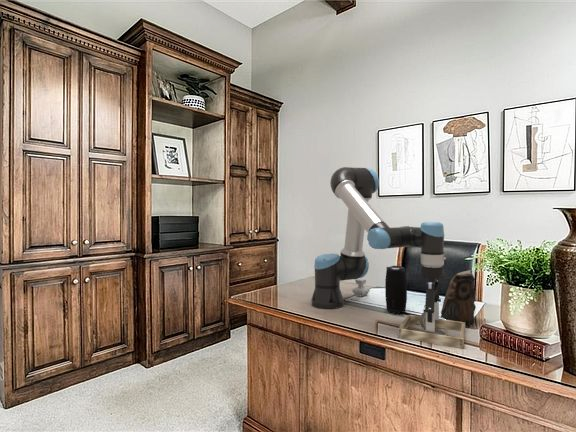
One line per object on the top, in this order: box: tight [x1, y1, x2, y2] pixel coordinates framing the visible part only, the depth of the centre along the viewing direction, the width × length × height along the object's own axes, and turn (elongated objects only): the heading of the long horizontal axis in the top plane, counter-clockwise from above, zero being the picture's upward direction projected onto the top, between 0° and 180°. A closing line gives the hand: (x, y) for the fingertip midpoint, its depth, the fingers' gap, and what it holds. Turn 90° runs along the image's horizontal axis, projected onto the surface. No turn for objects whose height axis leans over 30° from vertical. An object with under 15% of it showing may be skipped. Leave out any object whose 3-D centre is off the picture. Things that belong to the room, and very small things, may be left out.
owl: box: [440, 269, 476, 327], centre depth 132 cm, size 13×13×20 cm
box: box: [398, 314, 466, 350], centre depth 120 cm, size 20×18×3 cm
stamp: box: [351, 278, 371, 297], centre depth 174 cm, size 9×7×8 cm
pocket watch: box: [419, 305, 446, 336], centre depth 120 cm, size 8×8×10 cm
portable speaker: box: [384, 265, 408, 315], centre depth 146 cm, size 9×9×20 cm
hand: (432, 325), depth 120 cm, fingers open, 13 cm apart
